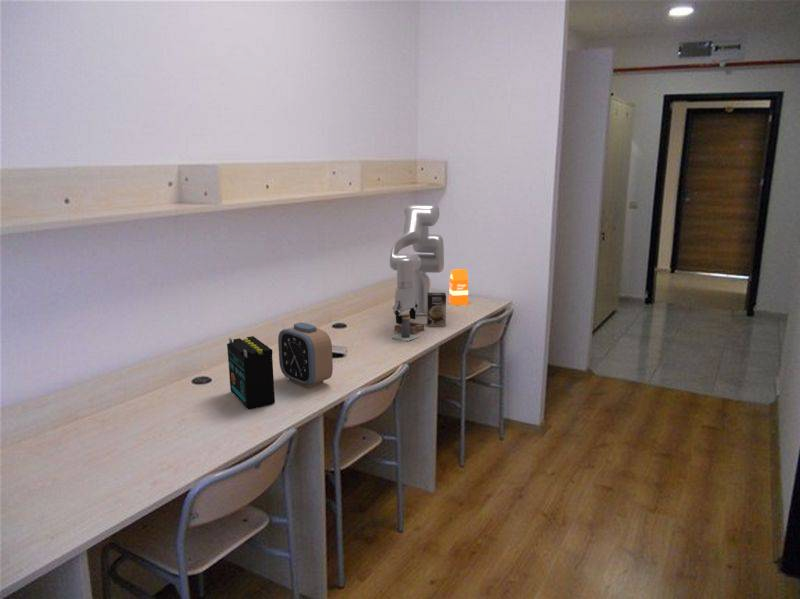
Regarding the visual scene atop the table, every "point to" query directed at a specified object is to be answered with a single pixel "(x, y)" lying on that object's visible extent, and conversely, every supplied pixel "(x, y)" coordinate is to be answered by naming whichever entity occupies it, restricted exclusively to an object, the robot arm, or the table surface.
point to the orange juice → (458, 287)
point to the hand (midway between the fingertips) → (405, 321)
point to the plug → (405, 326)
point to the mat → (406, 338)
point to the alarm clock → (305, 355)
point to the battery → (251, 372)
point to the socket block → (411, 327)
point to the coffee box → (436, 310)
